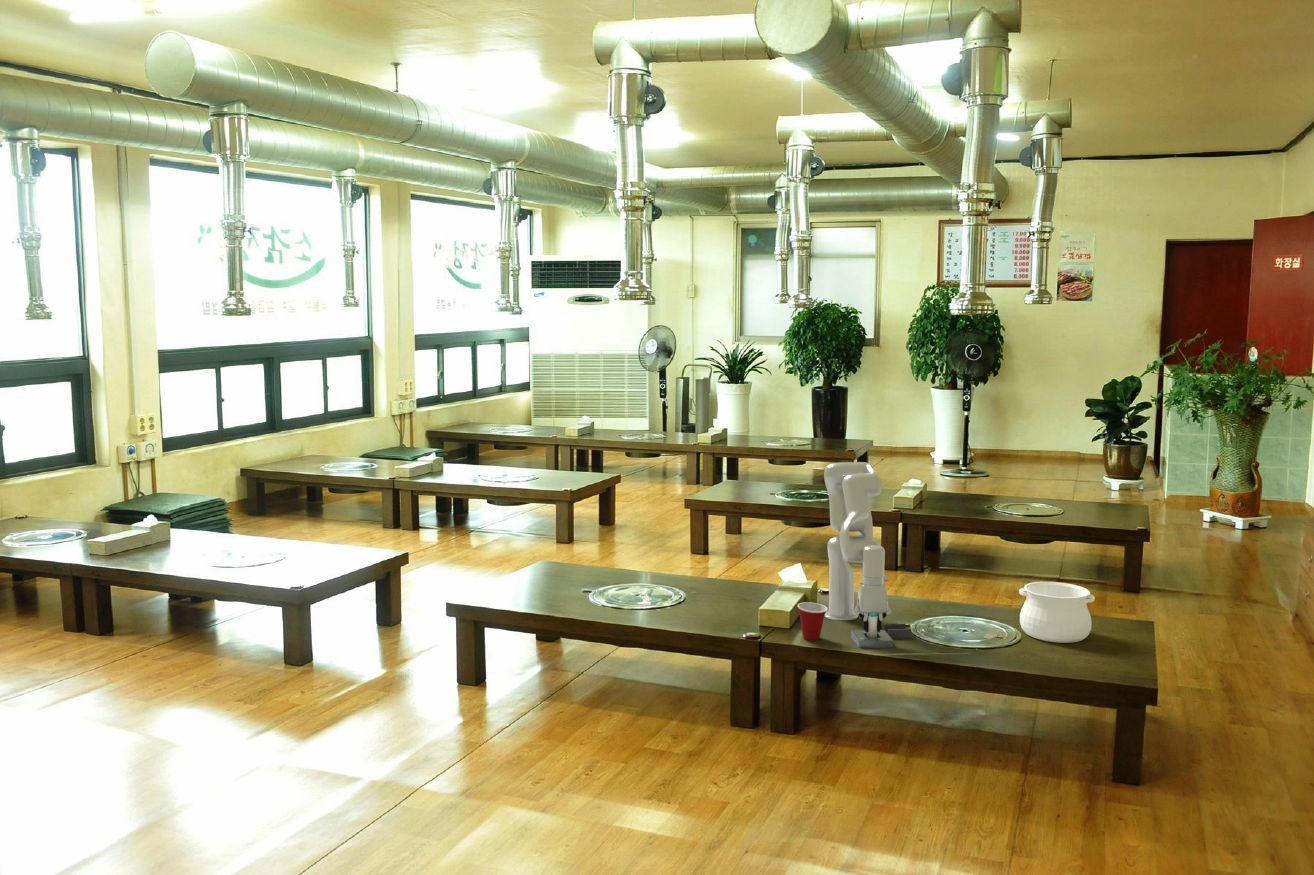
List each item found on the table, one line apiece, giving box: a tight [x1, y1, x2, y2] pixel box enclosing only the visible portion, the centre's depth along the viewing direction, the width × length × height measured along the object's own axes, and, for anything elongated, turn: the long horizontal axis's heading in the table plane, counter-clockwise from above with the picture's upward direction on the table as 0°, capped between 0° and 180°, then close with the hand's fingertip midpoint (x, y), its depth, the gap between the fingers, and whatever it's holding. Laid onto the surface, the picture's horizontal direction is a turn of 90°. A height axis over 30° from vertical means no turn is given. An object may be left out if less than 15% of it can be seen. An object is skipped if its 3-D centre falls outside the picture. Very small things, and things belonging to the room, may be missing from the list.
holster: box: [882, 623, 912, 639], centre depth 378 cm, size 8×8×4 cm
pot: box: [1018, 581, 1096, 644], centre depth 380 cm, size 26×24×17 cm
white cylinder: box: [867, 612, 878, 638], centre depth 369 cm, size 4×4×11 cm
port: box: [850, 629, 894, 649], centre depth 370 cm, size 12×12×3 cm
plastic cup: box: [797, 601, 829, 642], centre depth 376 cm, size 11×11×12 cm
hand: (872, 630), depth 370 cm, fingers closed on white cylinder, 3 cm apart
